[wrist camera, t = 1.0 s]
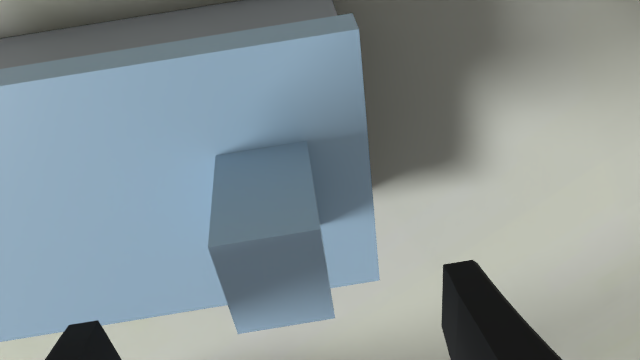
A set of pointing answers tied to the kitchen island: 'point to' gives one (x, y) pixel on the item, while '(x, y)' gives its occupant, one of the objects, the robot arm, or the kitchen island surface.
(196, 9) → the tub
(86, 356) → the robot arm
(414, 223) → the kitchen island surface
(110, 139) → the lid
